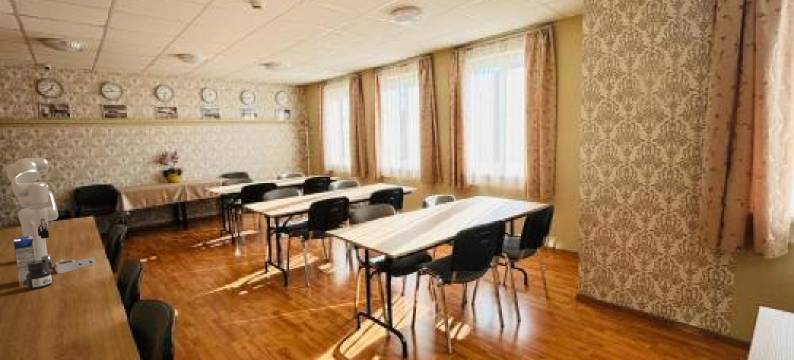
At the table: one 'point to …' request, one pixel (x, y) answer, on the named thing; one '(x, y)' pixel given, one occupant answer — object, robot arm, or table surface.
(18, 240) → the beverage box
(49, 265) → the grey upright cylinder
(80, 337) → the table surface
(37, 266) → the ink bottle
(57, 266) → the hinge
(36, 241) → the robot arm
